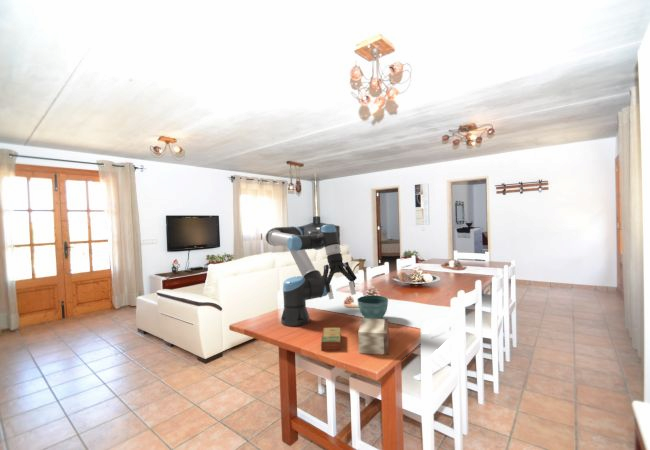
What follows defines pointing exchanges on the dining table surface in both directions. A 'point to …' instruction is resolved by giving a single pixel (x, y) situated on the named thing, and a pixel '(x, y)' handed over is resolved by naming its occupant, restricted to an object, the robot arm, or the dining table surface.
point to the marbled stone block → (373, 336)
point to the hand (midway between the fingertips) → (342, 296)
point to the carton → (331, 339)
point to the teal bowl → (373, 306)
